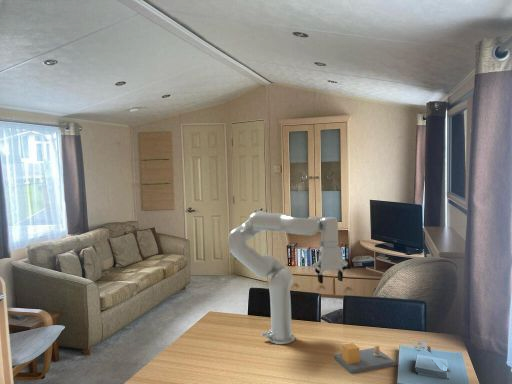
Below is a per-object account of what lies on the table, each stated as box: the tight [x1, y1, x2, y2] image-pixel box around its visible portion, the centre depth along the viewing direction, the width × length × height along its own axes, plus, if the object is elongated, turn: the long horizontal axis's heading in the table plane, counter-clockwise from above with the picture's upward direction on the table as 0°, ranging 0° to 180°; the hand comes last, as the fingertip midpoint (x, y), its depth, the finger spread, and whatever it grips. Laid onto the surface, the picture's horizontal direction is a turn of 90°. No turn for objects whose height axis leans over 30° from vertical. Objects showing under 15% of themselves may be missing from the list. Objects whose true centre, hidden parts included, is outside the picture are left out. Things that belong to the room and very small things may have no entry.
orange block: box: [341, 342, 360, 364], centre depth 165 cm, size 5×5×6 cm
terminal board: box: [333, 344, 397, 374], centre depth 167 cm, size 20×14×6 cm
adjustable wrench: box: [412, 341, 429, 350], centre depth 170 cm, size 25×6×2 cm, turn 178°
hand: (330, 281), depth 185 cm, fingers open, 9 cm apart
